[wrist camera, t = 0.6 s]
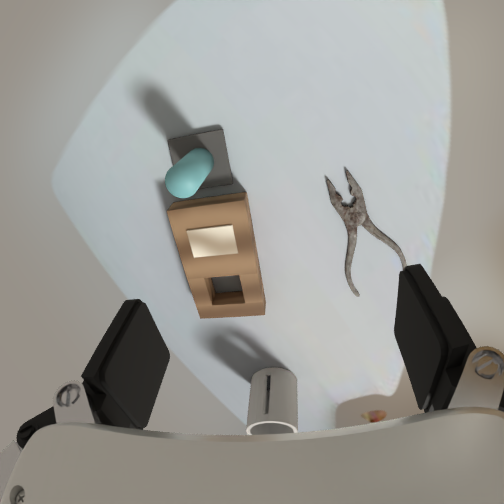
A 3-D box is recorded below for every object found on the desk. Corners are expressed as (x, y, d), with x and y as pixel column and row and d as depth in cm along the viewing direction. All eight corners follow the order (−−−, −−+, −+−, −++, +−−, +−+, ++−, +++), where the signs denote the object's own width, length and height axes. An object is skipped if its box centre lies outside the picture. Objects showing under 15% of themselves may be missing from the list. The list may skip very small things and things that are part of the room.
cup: (272, 397, 62) (269, 445, 52) (242, 379, 60) (235, 429, 49) (306, 382, 59) (307, 433, 48) (276, 361, 56) (274, 416, 46)
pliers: (362, 304, 47) (285, 211, 40) (361, 301, 48) (285, 208, 41) (413, 272, 43) (346, 167, 36) (411, 269, 44) (345, 165, 37)
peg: (183, 150, 37) (161, 168, 30) (211, 145, 36) (194, 161, 29) (189, 177, 39) (169, 200, 32) (216, 173, 38) (202, 195, 31)
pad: (169, 139, 37) (167, 140, 36) (223, 129, 36) (222, 129, 35) (181, 190, 40) (180, 191, 40) (232, 182, 39) (232, 183, 39)
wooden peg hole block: (173, 202, 41) (166, 211, 38) (246, 191, 40) (244, 201, 37) (204, 306, 50) (200, 319, 47) (265, 302, 49) (264, 315, 46)
